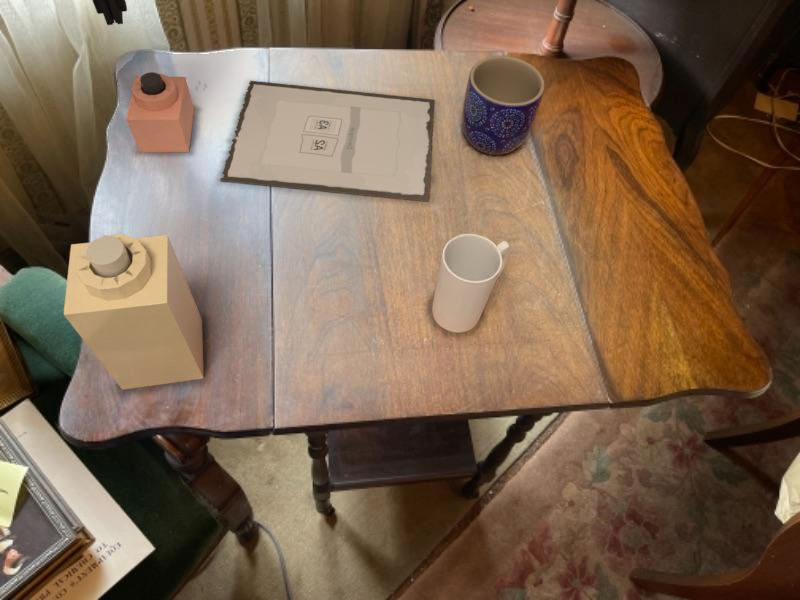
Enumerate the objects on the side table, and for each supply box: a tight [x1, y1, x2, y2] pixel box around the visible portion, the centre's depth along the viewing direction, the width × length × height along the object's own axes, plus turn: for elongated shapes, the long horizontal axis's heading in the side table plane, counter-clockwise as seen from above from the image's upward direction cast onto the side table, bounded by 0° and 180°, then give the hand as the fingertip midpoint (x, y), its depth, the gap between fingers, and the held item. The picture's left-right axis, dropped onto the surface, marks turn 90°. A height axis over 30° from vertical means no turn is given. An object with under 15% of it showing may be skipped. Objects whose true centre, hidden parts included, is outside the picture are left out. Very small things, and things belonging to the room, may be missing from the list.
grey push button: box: [86, 235, 130, 277], centre depth 55 cm, size 3×3×2 cm
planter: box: [461, 55, 546, 156], centre depth 90 cm, size 11×11×11 cm
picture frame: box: [219, 80, 435, 202], centre depth 92 cm, size 22×1×30 cm
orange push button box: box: [126, 73, 195, 153], centre depth 87 cm, size 7×9×8 cm
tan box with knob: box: [63, 233, 205, 391], centre depth 64 cm, size 9×8×19 cm
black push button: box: [140, 71, 164, 95], centre depth 84 cm, size 3×3×2 cm
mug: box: [431, 233, 511, 334], centre depth 73 cm, size 10×7×12 cm, turn 125°
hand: (115, 16), depth 67 cm, fingers closed
